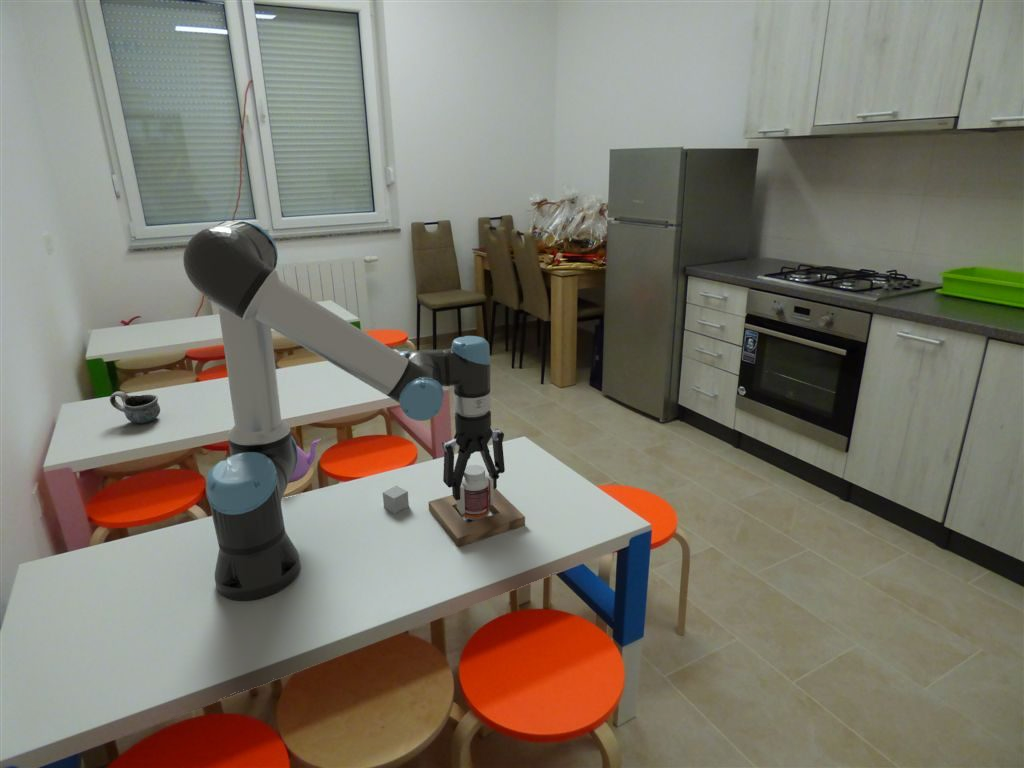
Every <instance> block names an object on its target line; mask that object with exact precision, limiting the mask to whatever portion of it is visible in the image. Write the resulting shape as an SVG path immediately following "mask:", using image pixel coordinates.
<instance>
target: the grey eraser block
mask: <svg viewBox="0 0 1024 768" xmlns="http://www.w3.org/2000/svg"><path fill="white" fill-rule="evenodd" d="M382 498H383V499H382V500H383V508H384V509H386V510H388V511H390V512H392V513H393V514H397V513H399V512H401V511H403V510H405V509H406V508H408V507H409V505H410V503H409V502H410V501H409V492H408V490H406V489H404V488H402V487H400V486H398V485H395V486H393V487H391V488H389V489H387V490H385V491H382Z"/></svg>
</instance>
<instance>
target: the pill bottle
mask: <svg viewBox="0 0 1024 768" xmlns="http://www.w3.org/2000/svg"><path fill="white" fill-rule="evenodd" d="M485 474H486V467H485V466H482V465H479V464H470V465H466V469H465V472H464V476H463V479H462V483H461V484H462V485H463V486H464V496H465V513H464V514H461V516H462V517H464V518H465V519H467V520H470V521H475V520H478V519H482V518H485V517H488V515H489V514H490V510H489V481H488V478H487V477H486V476H485Z"/></svg>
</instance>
